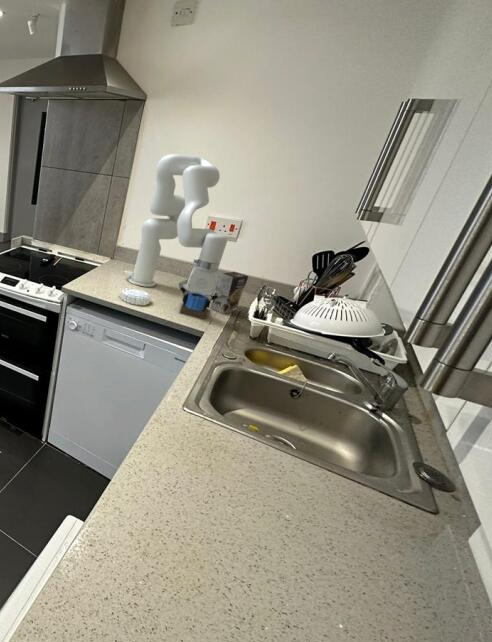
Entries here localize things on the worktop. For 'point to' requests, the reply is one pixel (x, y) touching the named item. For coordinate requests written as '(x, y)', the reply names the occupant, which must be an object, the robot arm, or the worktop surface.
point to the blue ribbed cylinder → (196, 301)
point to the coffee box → (229, 292)
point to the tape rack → (193, 311)
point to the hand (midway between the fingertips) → (194, 305)
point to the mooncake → (135, 296)
